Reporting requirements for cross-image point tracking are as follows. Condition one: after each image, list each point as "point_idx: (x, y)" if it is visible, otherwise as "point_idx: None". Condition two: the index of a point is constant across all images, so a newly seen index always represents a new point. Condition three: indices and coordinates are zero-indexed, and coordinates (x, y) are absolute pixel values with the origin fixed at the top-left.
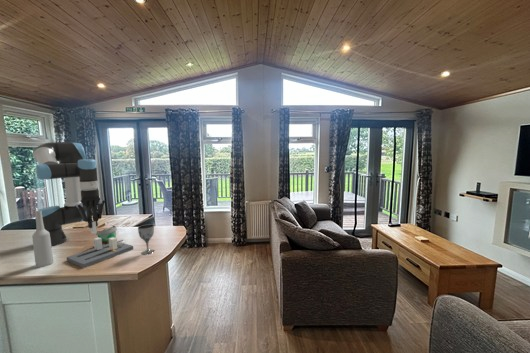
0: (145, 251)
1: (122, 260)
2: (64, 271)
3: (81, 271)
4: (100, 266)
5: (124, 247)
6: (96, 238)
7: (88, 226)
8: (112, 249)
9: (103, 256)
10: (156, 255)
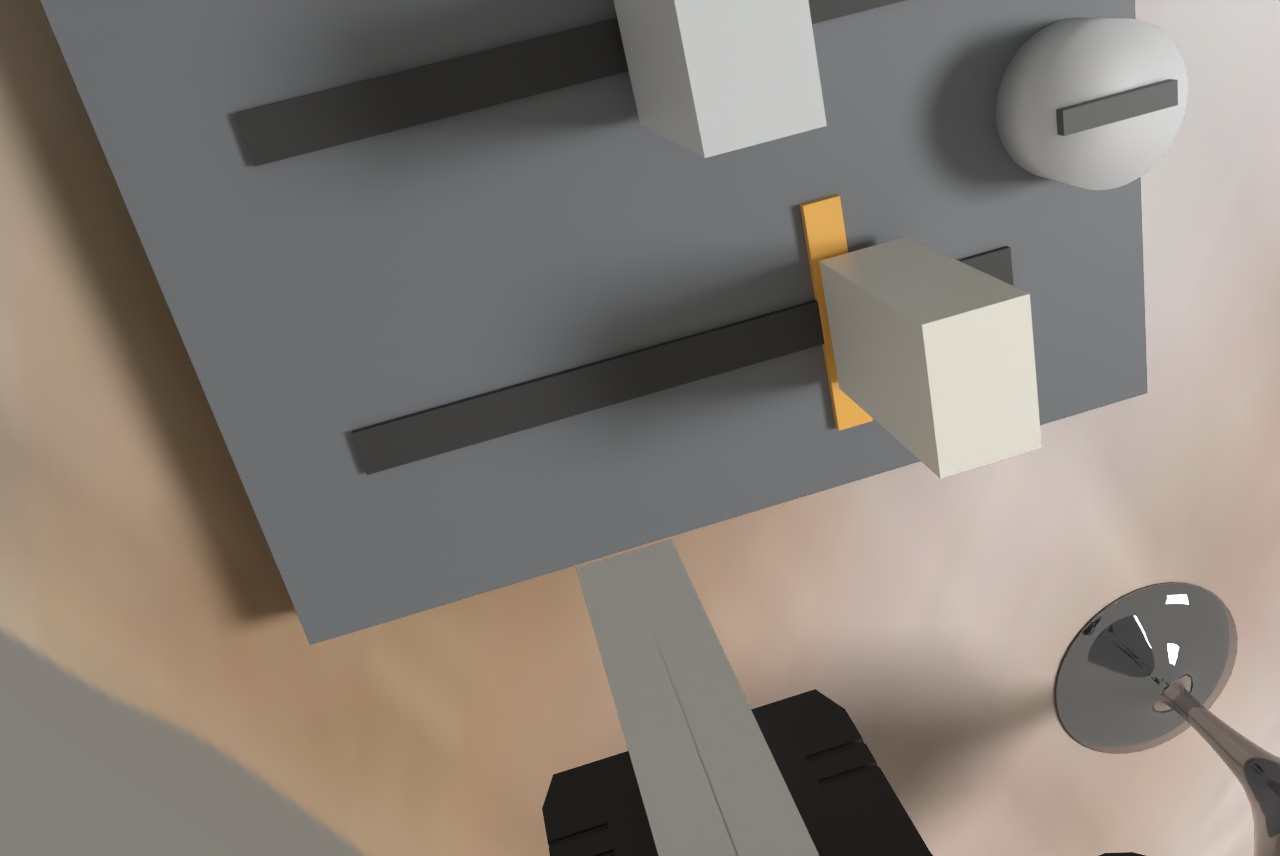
0: (1131, 680)
1: None
2: (32, 518)
3: (272, 706)
4: (521, 712)
5: None
6: (729, 11)
7: (549, 845)
8: (838, 373)
9: (631, 533)
10: (1135, 847)
